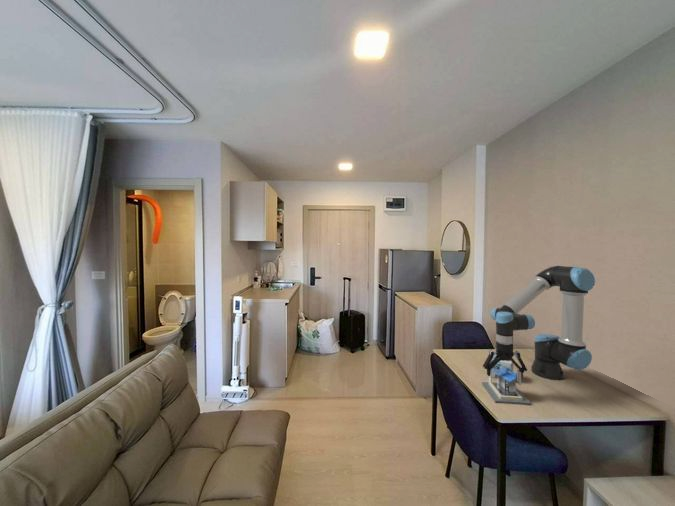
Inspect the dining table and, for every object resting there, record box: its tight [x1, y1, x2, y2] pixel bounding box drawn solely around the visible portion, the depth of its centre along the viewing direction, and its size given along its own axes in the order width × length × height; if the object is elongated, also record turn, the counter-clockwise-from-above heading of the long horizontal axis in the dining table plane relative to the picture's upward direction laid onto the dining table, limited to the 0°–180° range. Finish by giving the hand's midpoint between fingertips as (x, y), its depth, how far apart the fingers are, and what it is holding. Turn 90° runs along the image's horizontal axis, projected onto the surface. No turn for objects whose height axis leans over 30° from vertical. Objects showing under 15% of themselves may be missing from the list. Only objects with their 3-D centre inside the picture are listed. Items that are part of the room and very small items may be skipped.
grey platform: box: [481, 380, 532, 406], centre depth 140 cm, size 16×18×2 cm
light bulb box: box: [490, 355, 514, 379], centre depth 157 cm, size 11×7×11 cm, turn 47°
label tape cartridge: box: [496, 366, 517, 396], centre depth 139 cm, size 9×4×12 cm, turn 6°
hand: (504, 382), depth 140 cm, fingers open, 13 cm apart
